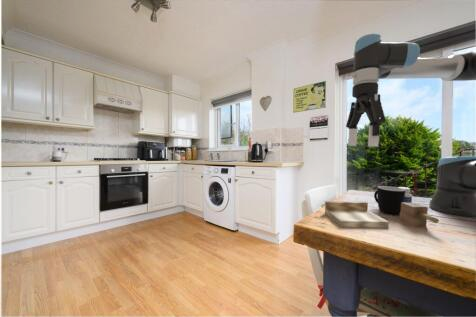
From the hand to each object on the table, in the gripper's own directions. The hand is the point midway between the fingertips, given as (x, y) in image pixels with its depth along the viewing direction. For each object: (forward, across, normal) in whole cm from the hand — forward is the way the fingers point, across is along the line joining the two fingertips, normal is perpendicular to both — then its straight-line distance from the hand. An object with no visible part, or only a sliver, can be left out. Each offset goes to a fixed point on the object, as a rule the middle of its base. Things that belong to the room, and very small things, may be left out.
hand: (361, 146), depth 71 cm
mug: (+28, -13, +18) cm, 35 cm away
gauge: (+27, +3, +19) cm, 33 cm away
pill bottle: (+28, -15, +26) cm, 40 cm away
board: (+27, -1, -1) cm, 27 cm away
